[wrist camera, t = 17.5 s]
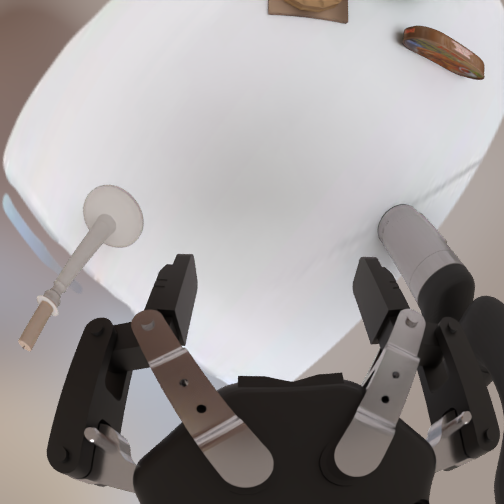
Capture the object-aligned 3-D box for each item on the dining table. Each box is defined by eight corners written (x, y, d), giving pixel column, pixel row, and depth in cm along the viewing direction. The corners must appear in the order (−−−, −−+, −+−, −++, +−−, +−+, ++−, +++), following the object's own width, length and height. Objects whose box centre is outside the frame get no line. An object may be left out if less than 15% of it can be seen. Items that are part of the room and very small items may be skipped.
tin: (393, 42, 27) (421, 38, 20) (394, 26, 25) (423, 19, 18) (462, 78, 28) (493, 85, 21) (463, 64, 26) (495, 68, 19)
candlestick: (132, 256, 50) (68, 391, 26) (79, 227, 46) (-5, 344, 22) (153, 205, 44) (67, 354, 19) (93, 173, 40) (-25, 289, 16)
